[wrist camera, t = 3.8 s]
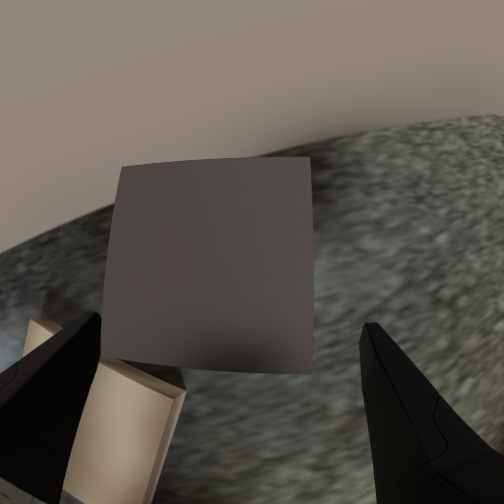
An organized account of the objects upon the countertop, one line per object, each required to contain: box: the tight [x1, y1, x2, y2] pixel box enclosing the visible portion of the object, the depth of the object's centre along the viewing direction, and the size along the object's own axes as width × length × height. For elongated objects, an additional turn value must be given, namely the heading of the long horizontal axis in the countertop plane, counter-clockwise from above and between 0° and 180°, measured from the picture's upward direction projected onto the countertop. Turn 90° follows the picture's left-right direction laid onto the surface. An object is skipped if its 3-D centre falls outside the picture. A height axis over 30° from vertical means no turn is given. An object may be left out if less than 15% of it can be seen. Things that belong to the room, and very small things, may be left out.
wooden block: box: [22, 319, 187, 504], centre depth 17 cm, size 12×12×3 cm
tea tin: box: [101, 157, 314, 374], centre depth 13 cm, size 5×5×12 cm
